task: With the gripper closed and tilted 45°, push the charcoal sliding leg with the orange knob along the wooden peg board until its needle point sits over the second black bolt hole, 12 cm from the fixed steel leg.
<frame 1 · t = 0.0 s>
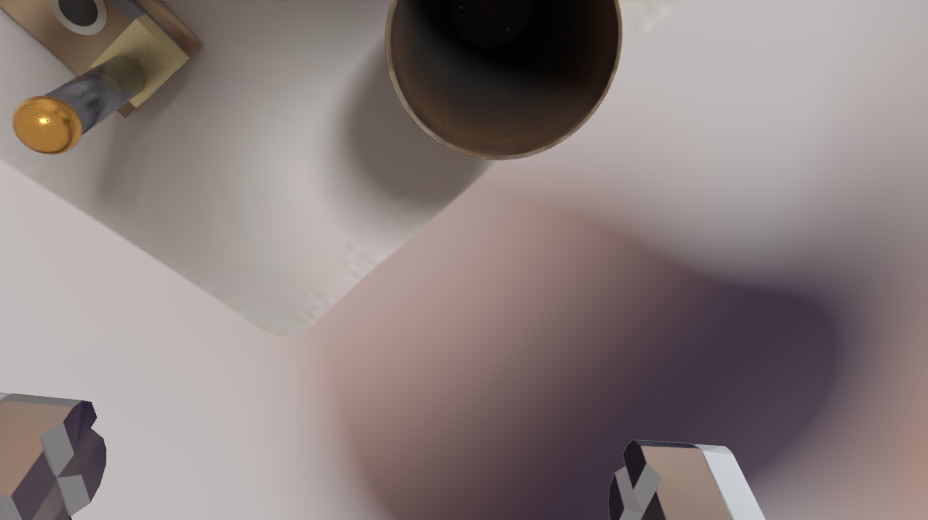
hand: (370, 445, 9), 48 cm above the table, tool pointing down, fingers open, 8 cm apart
sliding leg: (103, 86, 44), point 10 cm above the table, slide at 0.0 cm
plant pot: (488, 2, 51), on the table
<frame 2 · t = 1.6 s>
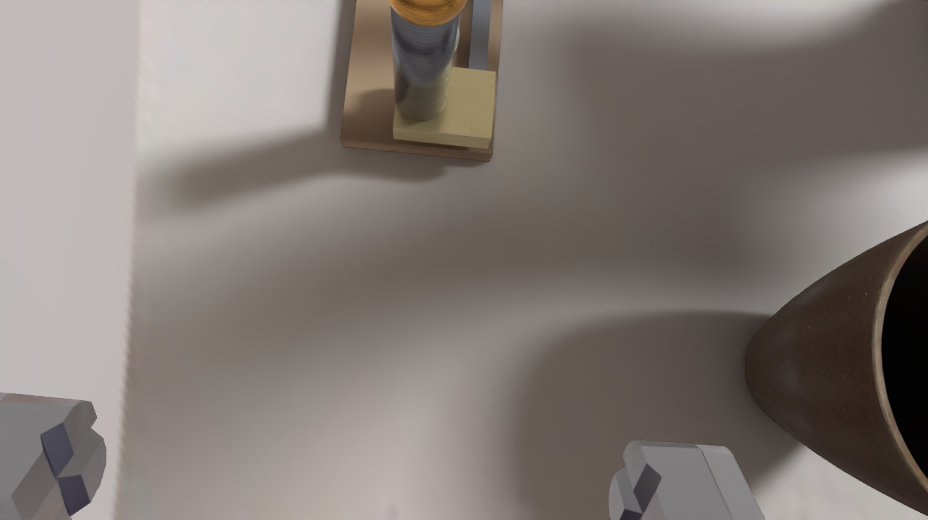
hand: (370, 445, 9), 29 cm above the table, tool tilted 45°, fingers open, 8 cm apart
sliding leg: (447, 54, 31), point 10 cm above the table, slide at 0.0 cm
plant pot: (793, 368, 40), on the table
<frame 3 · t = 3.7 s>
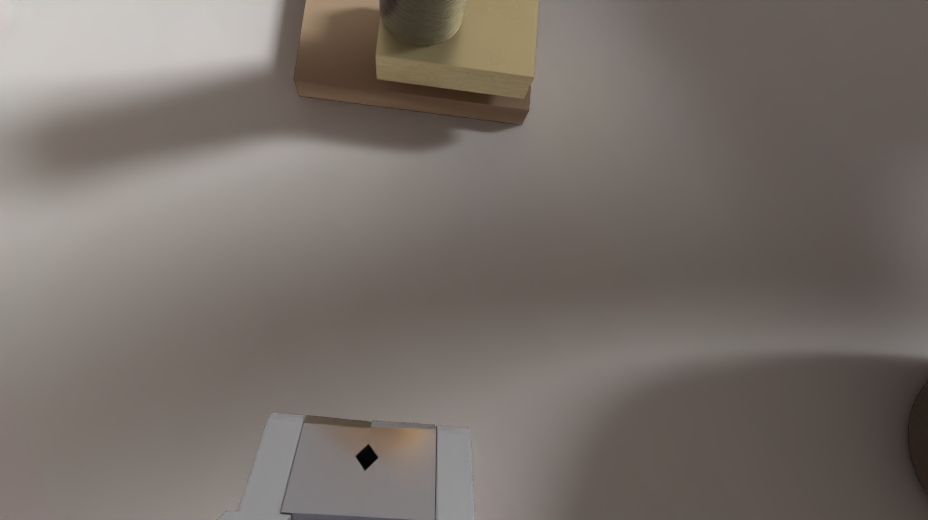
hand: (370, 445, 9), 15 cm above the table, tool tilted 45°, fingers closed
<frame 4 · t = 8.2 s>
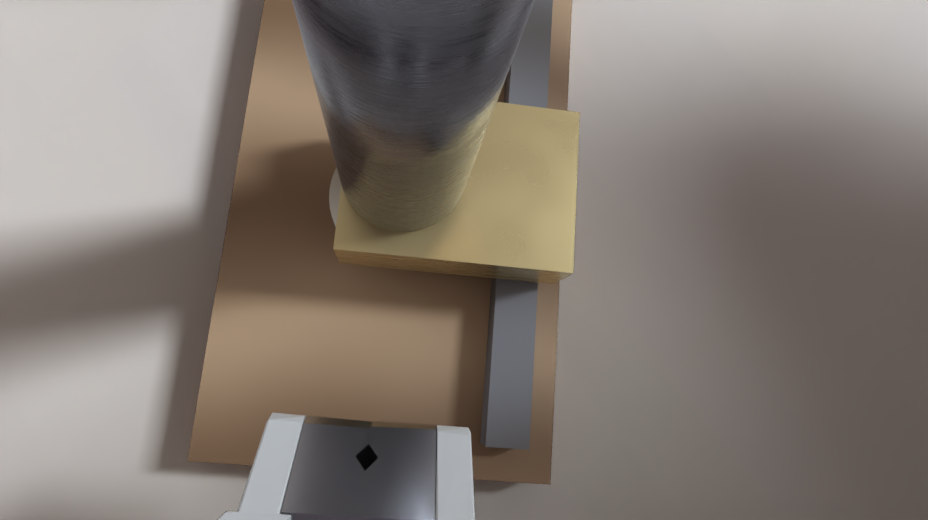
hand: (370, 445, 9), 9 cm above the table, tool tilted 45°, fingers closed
sliding leg: (486, 71, 10), point 10 cm above the table, slide at 5.8 cm
wooden peg board: (416, 73, 20), on the table
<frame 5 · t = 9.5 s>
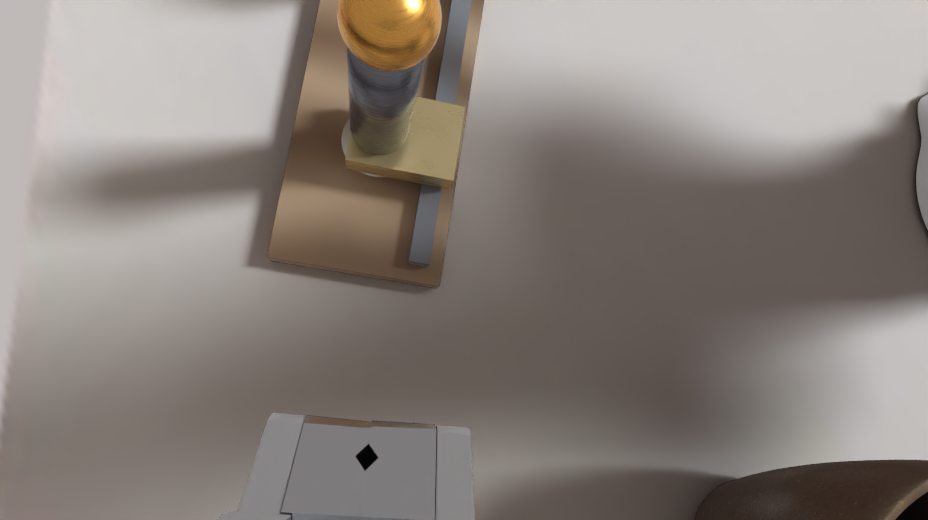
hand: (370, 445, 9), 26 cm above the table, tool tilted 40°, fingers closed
sliding leg: (411, 92, 27), point 10 cm above the table, slide at 5.8 cm
wooden peg board: (391, 76, 38), on the table
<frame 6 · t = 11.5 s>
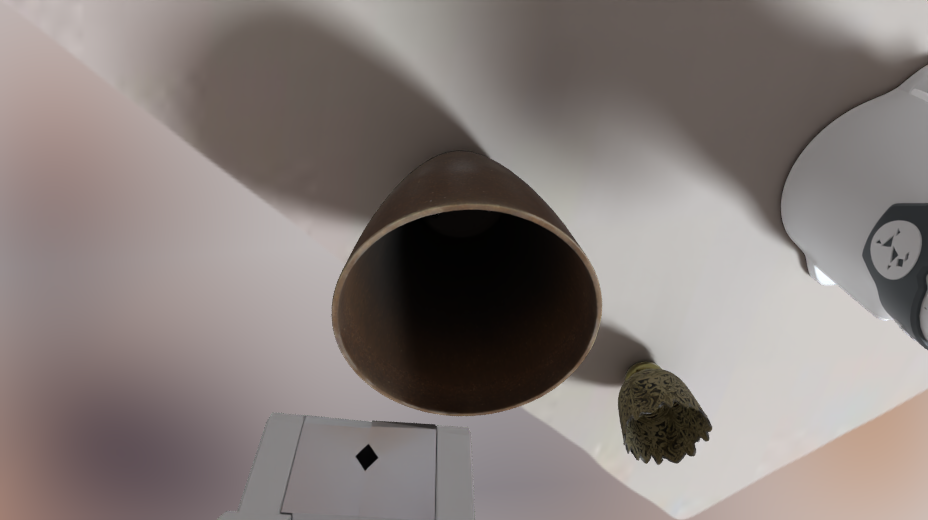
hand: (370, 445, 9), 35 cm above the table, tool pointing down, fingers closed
plant pot: (461, 191, 46), on the table
cup: (641, 370, 57), on the table
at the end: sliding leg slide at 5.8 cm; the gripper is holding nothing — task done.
